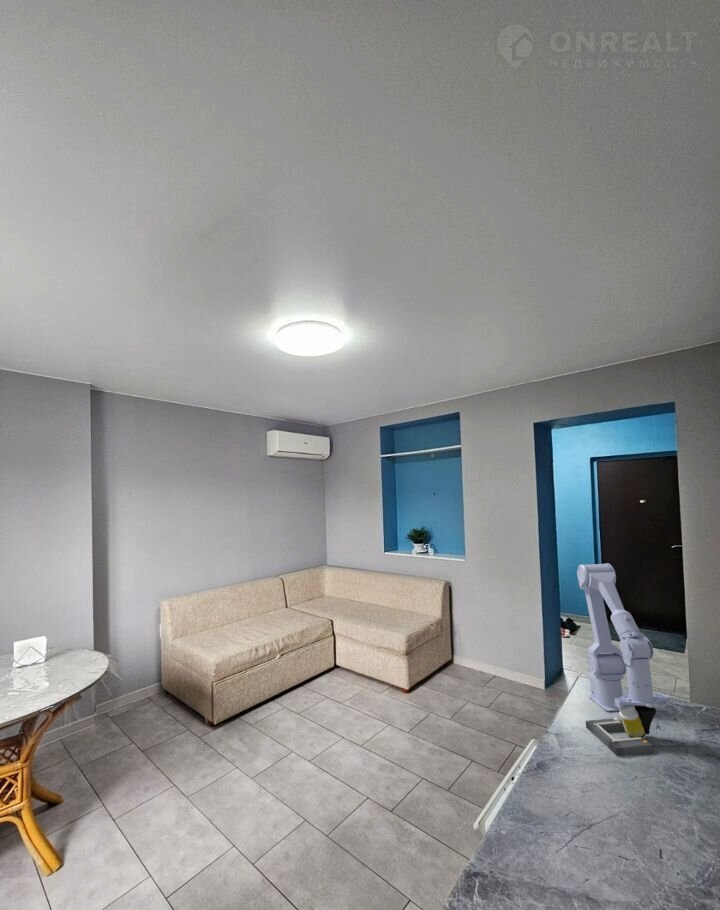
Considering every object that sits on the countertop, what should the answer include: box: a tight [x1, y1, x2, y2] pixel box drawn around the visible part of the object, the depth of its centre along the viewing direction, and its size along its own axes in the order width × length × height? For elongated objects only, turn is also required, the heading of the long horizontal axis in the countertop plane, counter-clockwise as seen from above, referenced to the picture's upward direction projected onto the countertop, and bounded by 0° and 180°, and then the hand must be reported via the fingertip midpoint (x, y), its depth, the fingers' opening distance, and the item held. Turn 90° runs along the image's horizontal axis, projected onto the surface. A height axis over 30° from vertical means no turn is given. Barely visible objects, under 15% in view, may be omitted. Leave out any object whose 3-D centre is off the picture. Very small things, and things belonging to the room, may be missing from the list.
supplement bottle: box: [618, 705, 647, 739], centre depth 115 cm, size 5×5×8 cm
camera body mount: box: [585, 716, 654, 756], centre depth 114 cm, size 13×10×2 cm
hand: (645, 732), depth 115 cm, fingers closed, pressing on supplement bottle
